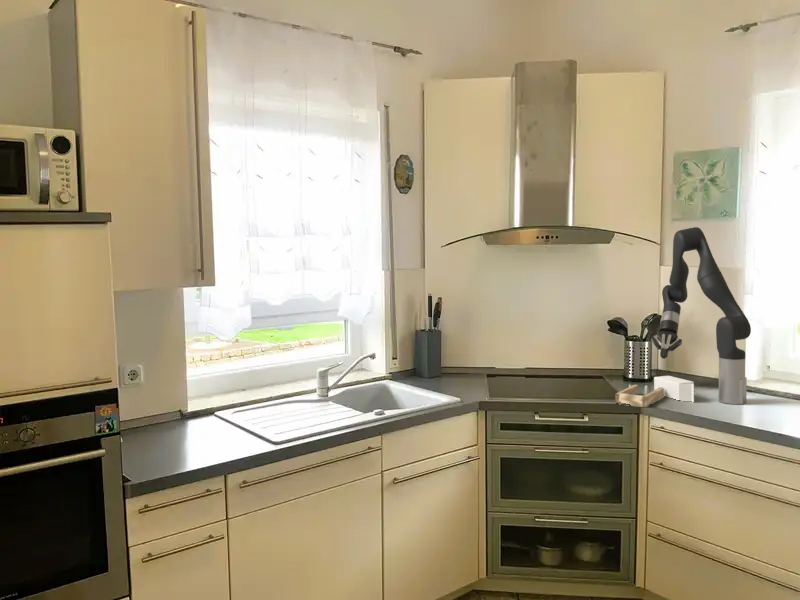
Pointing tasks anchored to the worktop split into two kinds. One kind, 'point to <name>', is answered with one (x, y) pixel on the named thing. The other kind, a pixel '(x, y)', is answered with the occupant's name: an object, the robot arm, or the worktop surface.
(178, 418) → the worktop surface
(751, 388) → the worktop surface
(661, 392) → the U-rest
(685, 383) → the milk carton
